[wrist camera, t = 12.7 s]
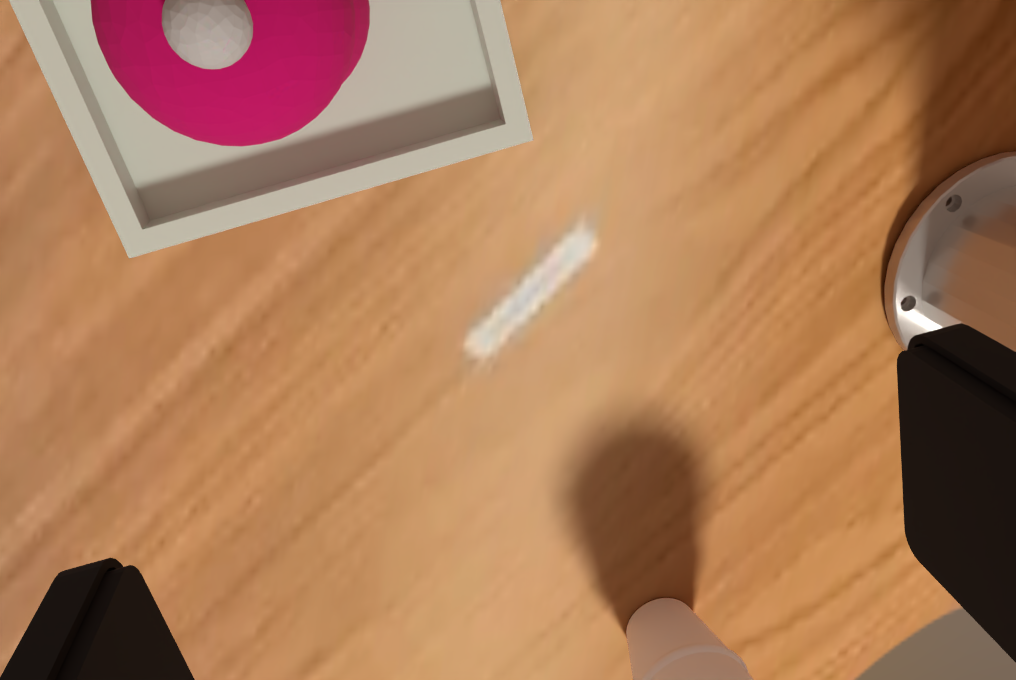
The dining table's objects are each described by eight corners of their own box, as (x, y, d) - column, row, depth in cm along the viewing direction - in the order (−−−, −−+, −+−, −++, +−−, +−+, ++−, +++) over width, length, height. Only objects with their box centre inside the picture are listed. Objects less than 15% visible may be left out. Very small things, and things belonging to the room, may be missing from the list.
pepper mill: (169, -89, 33) (-54, -185, 15) (357, -96, 34) (367, -193, 16) (203, 103, 36) (52, 222, 18) (376, 91, 37) (403, 192, 19)
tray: (425, -277, 33) (430, -295, 31) (524, 132, 39) (533, 139, 37) (-41, -155, 32) (-68, -165, 30) (140, 244, 38) (129, 258, 36)
